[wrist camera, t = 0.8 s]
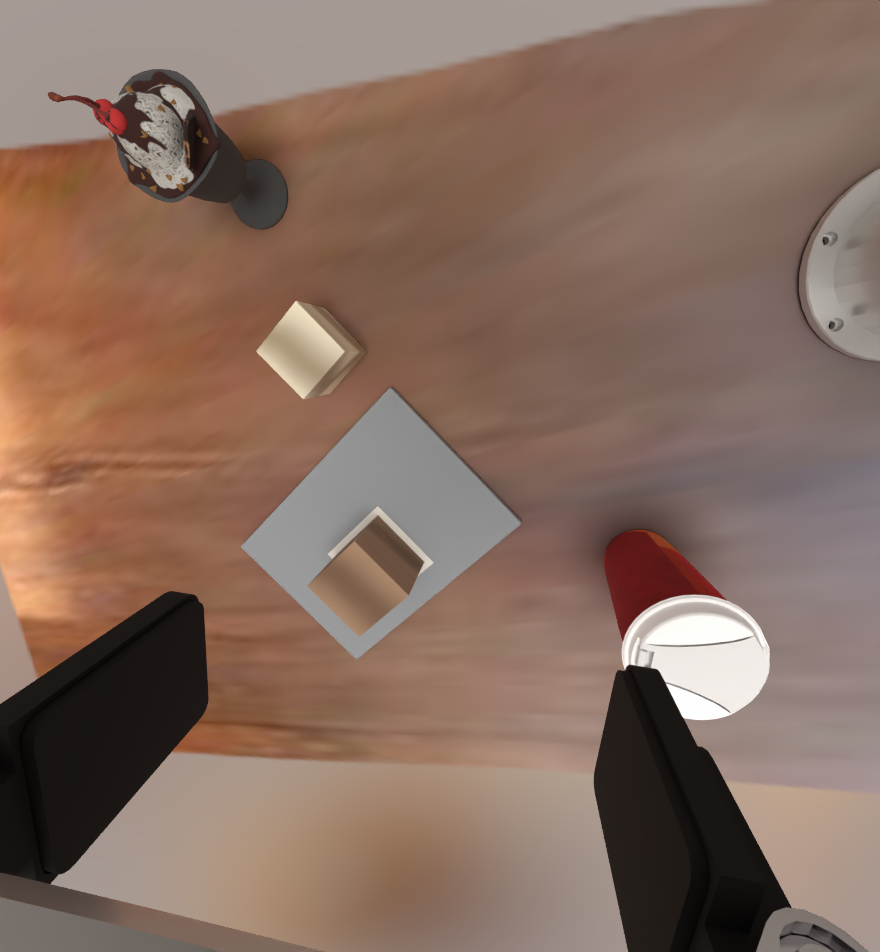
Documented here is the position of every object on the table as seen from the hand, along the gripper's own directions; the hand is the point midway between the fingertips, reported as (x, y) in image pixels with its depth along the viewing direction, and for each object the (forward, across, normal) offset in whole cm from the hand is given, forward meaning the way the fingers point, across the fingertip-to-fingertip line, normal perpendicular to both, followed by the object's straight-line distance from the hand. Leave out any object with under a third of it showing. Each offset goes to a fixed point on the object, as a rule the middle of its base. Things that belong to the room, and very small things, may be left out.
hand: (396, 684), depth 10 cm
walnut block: (+29, +8, +11) cm, 32 cm away
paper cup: (+29, -15, +8) cm, 33 cm away
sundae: (+30, +19, -18) cm, 40 cm away
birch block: (+30, +14, -7) cm, 33 cm away
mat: (+30, +9, +9) cm, 32 cm away
